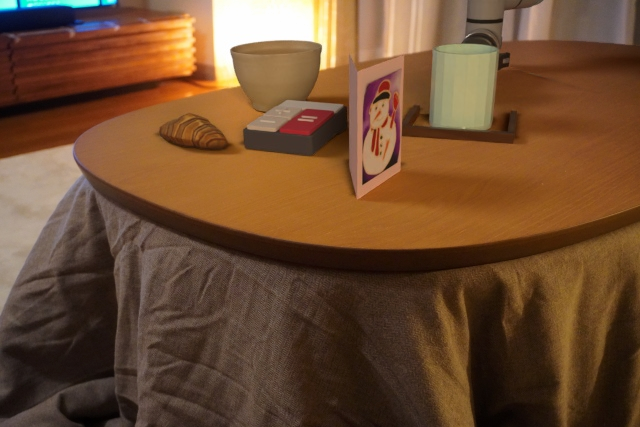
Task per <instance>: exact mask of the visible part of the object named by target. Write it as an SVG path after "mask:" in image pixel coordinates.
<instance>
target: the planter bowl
mask: <svg viewBox="0 0 640 427" xmlns="http://www.w3.org/2000/svg"><path fill="white" fill-rule="evenodd" d="M322 51H323V45H322V44H321V43H319V42H316V41H310V40H299V39H298V40H297V39H296V40H295V39H276V40H275V39H273V40H262V41H254V42H248V43H242V44H237V45H235V46H233V47H231V48H230V49H229V53H230V56H231V60H232V66H233V70H234V74H235V77H236V79H237V81H238V84H239V86H240V88H241V89H242V91H243V92H244V94H245V95H246V97H247V98H248V99H249V100H250V101H251V103H252V107H253V109H254V110H256V111H258V112H263V113H266V112H268V111H269V110H271V109H272V108H274V107H275V106H278V105H280V104H282V103H283V102H285V101H286V100H295V101H307V98H309V96H310V94H311V93H312V91H313V89H314V87H315V85H316V83H317V80H318V78H319V74H320V69H321V62H322V60H321V59H322V58H321V56H322Z"/></svg>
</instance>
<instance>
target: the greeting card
mask: <svg viewBox="0 0 640 427" xmlns="http://www.w3.org/2000/svg"><path fill="white" fill-rule="evenodd" d="M404 75H405V54H401V55H399V56H396V57H393V58H390V59H388V60H385V61H382V62H379V63H376V64H373V65H371V66H368V67H365V68H363V69H360V70H358V69H357V67H356V64H355V62H354V60H353V57H352V56H351V54H350V53H348V105H349V106H348V167H349V173H350V176H351V181H352V185H353V190H354V193H355V197H356V200H358V201H359V200H360V199H361V198H362V197H364V196H365V195H367V194H368V193H370V192H371V191H373V190H374V189H376V188H377V187H379V186H380V185H381V184H383V183H384V182H386V181H388V180H389V179H391V178H392V177H393V176H395V175H396V174H398V173H399V172H400V171H401V167H402V166H401V164H402V137H403V136H402V122H403V106H404V105H403V104H404Z"/></svg>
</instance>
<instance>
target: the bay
mask: <svg viewBox="0 0 640 427" xmlns="http://www.w3.org/2000/svg"><path fill="white" fill-rule="evenodd" d="M420 109H421V105H419V104H414V105H413V106H412V108H411V109H410V110H409V112H408V113H407V115H406V116H405V118H404V119H402V137H412V138H413V137H414V138H416V137H417V138H427V139H442V140H455V141H456V140H458V141H471V142H482V143H483V142H485V143H498V144H500V143H501V144H514V143H515V142H514V141H515V134H516V124H517V117H518V116H517V115H518V110H512V109H511V110H510V113H509V118H508V126H507V131H505V130H504V131H503V130H490V129H487V130H474V129H458V128H443V127H432V126H426V125H425V126H424V125H413V124H414V123H415V121H416V120H417V118H418V117H419V115H420V113H421V112H420V111H421V110H420Z"/></svg>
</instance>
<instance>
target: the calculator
mask: <svg viewBox="0 0 640 427" xmlns="http://www.w3.org/2000/svg"><path fill="white" fill-rule="evenodd" d="M348 128H349V118H348V106H347V105H344V104H343V103H331V102H319V101H307V100H306V101H295V100H286V101H285V102H283V103H282V104H280V105H278V106H275V107H274V108H272V109H271V110H269V111H268V112H264V113H263V114H262V115H260V116H259V117H257V118H256V119H254V120H252V121H251V122H249V123H248V124H246V127H244V128H243V129H242V134H243V136H242V137H243V145H244V149H246V150H254V151H263V152H271V153H280V154H281V153H282V154H287V155H297V156H298V155H299V156H307V157H312V156H313V155H315V154H316V153H317V152H318V151H319V150H321V149H322V148H323V147H324V146H325V145H326V144H327V143H328V142H329V141H330V140H332V138H334V137H335V136H336V135H341V134H342V133H344V131H345V130H347V129H348Z"/></svg>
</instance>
